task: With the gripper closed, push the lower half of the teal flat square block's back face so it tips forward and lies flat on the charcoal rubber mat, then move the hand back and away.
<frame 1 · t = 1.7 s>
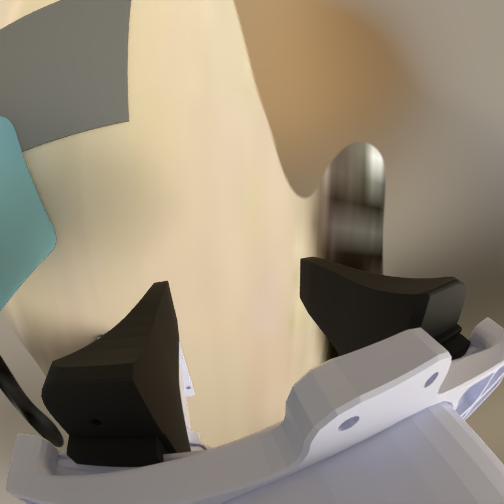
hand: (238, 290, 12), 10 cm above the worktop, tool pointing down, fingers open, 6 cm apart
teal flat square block: (16, 190, 15), on the worktop, touching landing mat
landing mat: (12, 80, 12), on the worktop
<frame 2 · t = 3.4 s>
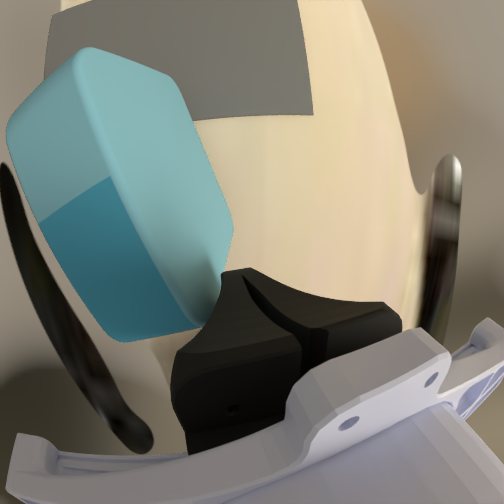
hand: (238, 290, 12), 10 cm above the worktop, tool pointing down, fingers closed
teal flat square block: (177, 162, 19), point 1 cm above the worktop, touching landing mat
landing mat: (170, 44, 16), on the worktop
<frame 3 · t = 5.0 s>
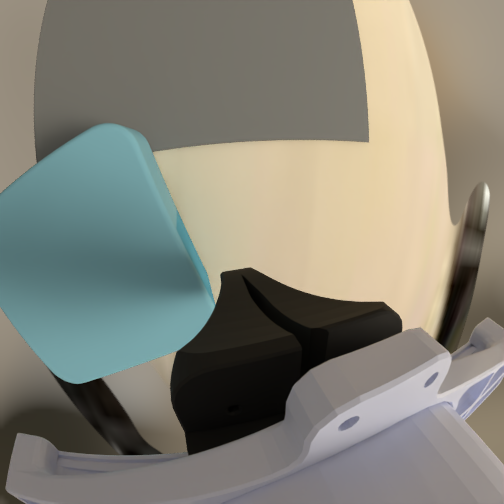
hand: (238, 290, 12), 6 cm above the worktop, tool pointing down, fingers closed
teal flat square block: (181, 219, 14), point 2 cm above the worktop, touching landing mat
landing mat: (204, 38, 12), on the worktop
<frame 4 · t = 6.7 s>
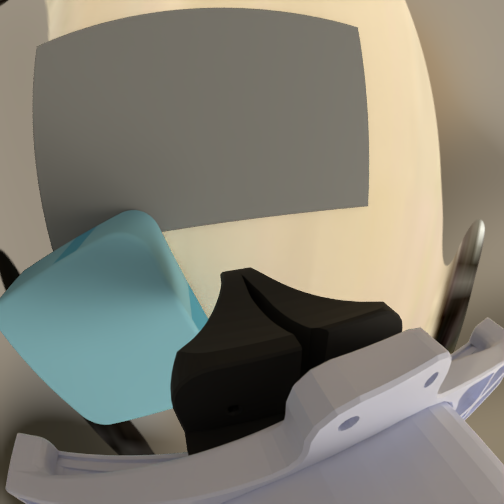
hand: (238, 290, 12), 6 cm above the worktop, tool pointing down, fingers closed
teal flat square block: (194, 300, 15), point 2 cm above the worktop, touching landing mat
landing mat: (206, 107, 14), on the worktop
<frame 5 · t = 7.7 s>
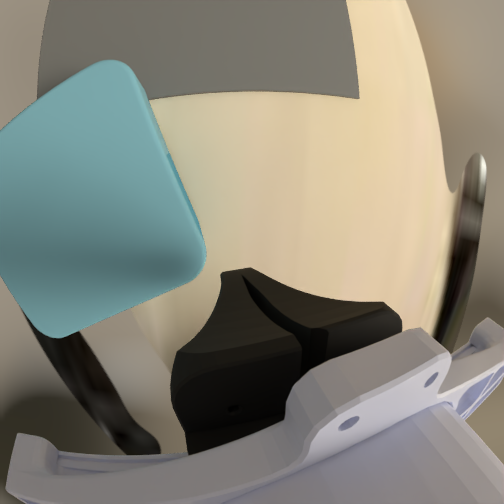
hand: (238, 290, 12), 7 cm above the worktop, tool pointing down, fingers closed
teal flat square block: (172, 155, 13), point 2 cm above the worktop, touching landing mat
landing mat: (200, 3, 12), on the worktop
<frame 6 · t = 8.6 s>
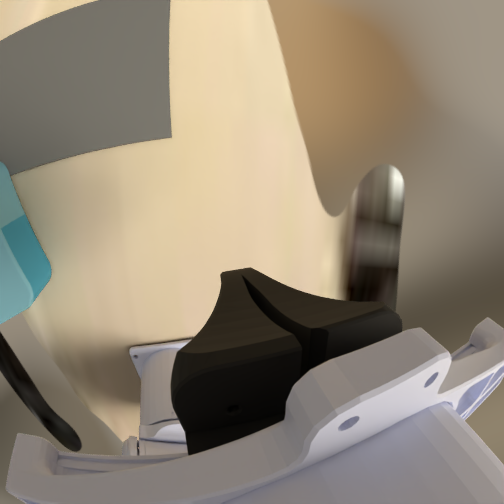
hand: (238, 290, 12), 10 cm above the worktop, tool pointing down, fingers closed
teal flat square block: (15, 221, 14), point 2 cm above the worktop, touching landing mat
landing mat: (40, 84, 13), on the worktop
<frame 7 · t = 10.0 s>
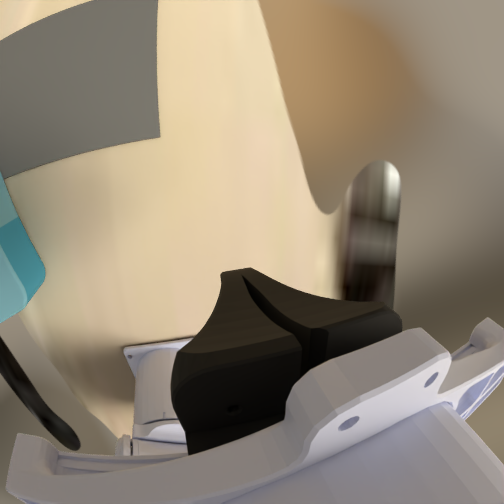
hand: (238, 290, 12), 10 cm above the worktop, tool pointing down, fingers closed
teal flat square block: (9, 224, 14), point 2 cm above the worktop, touching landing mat
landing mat: (30, 87, 13), on the worktop
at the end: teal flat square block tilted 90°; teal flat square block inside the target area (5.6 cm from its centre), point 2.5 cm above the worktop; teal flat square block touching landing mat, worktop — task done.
